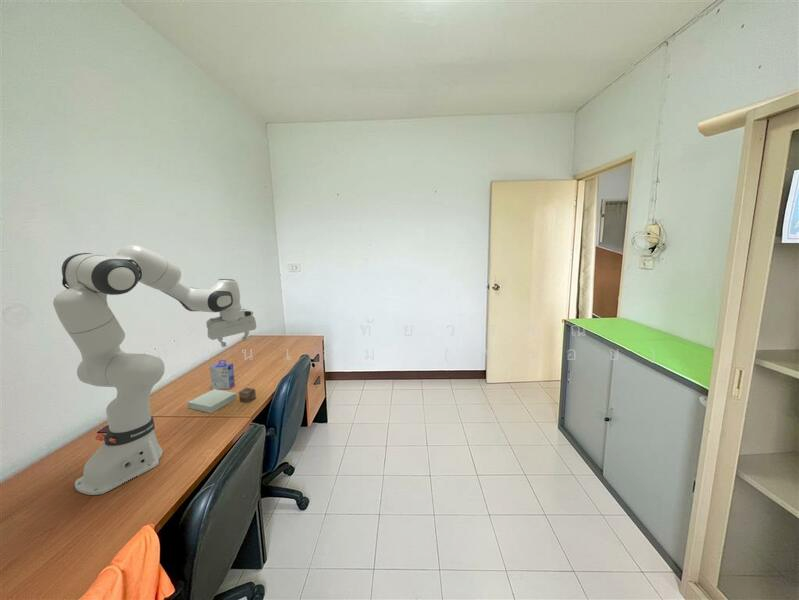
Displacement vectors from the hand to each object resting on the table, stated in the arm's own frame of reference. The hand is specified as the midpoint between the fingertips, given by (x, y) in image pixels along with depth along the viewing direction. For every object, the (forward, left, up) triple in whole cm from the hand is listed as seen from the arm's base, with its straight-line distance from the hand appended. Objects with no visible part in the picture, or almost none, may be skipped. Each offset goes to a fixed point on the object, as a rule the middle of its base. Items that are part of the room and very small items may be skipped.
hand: (234, 343), depth 144 cm
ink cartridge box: (+11, +23, -30) cm, 39 cm away
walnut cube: (+4, 0, -30) cm, 30 cm away
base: (-4, +13, -30) cm, 33 cm away
